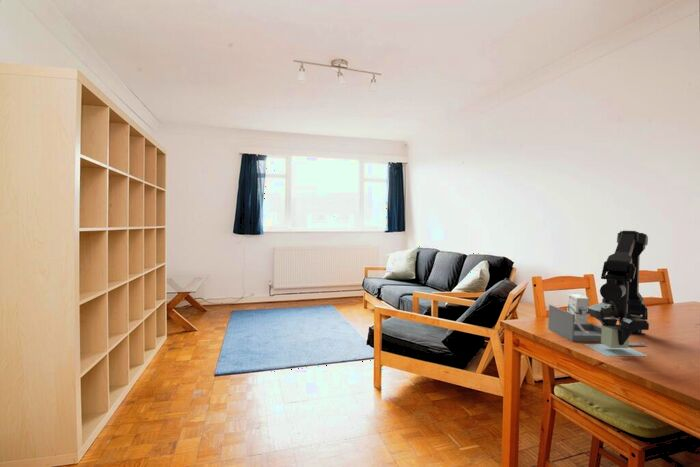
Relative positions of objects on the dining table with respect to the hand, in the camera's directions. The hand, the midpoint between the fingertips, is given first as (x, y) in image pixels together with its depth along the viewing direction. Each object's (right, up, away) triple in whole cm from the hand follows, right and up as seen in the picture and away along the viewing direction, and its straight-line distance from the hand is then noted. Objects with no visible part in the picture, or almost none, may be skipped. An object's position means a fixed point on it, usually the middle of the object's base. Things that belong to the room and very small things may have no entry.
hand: (615, 342), depth 114 cm
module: (0, -1, 0) cm, 1 cm away
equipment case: (0, -2, +15) cm, 15 cm away
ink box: (+8, -2, +31) cm, 32 cm away
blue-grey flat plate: (0, -3, 0) cm, 3 cm away
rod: (+10, -3, +4) cm, 11 cm away
